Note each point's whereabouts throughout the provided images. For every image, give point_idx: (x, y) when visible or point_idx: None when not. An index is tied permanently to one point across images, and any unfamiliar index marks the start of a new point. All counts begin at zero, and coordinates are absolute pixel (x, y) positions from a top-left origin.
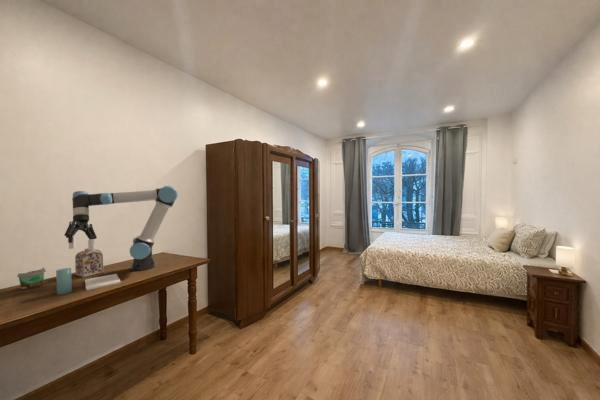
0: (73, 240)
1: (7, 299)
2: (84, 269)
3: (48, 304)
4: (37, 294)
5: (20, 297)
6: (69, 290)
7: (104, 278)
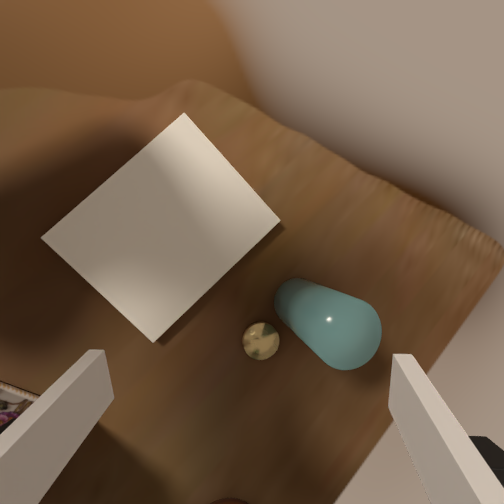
0: (473, 448)
1: (355, 466)
2: None
3: (404, 250)
4: (313, 401)
5: (339, 437)
6: (302, 279)
7: (135, 242)
